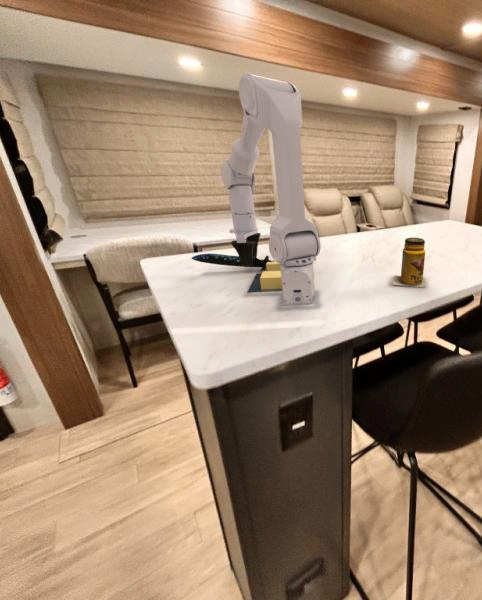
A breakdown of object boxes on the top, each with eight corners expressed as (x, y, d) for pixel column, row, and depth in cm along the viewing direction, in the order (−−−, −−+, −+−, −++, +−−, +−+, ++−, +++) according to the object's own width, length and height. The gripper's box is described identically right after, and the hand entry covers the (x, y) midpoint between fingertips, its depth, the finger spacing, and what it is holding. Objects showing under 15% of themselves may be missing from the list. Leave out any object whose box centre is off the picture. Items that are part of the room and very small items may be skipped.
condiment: (423, 287, 82) (428, 243, 77) (392, 285, 83) (394, 241, 78) (423, 278, 89) (427, 237, 84) (394, 276, 89) (396, 235, 84)
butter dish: (299, 293, 75) (299, 290, 75) (247, 295, 73) (246, 292, 72) (301, 274, 88) (301, 272, 87) (256, 276, 85) (256, 273, 85)
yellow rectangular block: (287, 288, 75) (286, 277, 74) (261, 289, 74) (259, 277, 73) (288, 281, 80) (287, 270, 79) (264, 282, 79) (262, 271, 77)
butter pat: (290, 274, 85) (289, 263, 84) (267, 274, 84) (265, 264, 83) (290, 271, 87) (289, 261, 86) (268, 272, 86) (266, 262, 85)
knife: (307, 273, 92) (307, 258, 91) (306, 276, 89) (306, 261, 88) (196, 264, 87) (195, 249, 86) (192, 267, 84) (190, 252, 83)
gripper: (233, 209, 87) (240, 255, 93) (219, 217, 74) (228, 270, 80) (259, 209, 89) (265, 255, 94) (250, 217, 76) (257, 270, 81)
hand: (250, 262), depth 87 cm, fingers open, 7 cm apart
